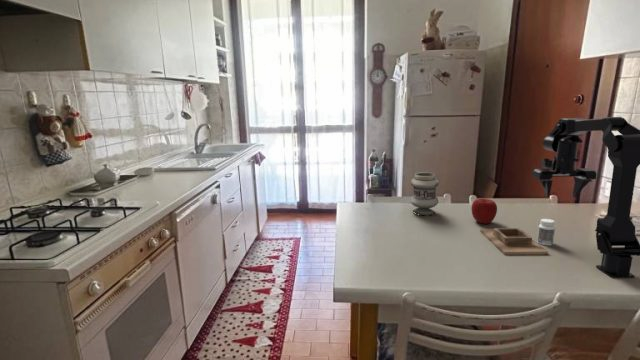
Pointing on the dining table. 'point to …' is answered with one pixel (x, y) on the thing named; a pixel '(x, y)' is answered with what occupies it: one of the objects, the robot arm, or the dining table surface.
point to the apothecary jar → (424, 193)
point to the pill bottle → (546, 232)
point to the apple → (484, 210)
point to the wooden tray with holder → (513, 241)
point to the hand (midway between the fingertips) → (560, 197)
